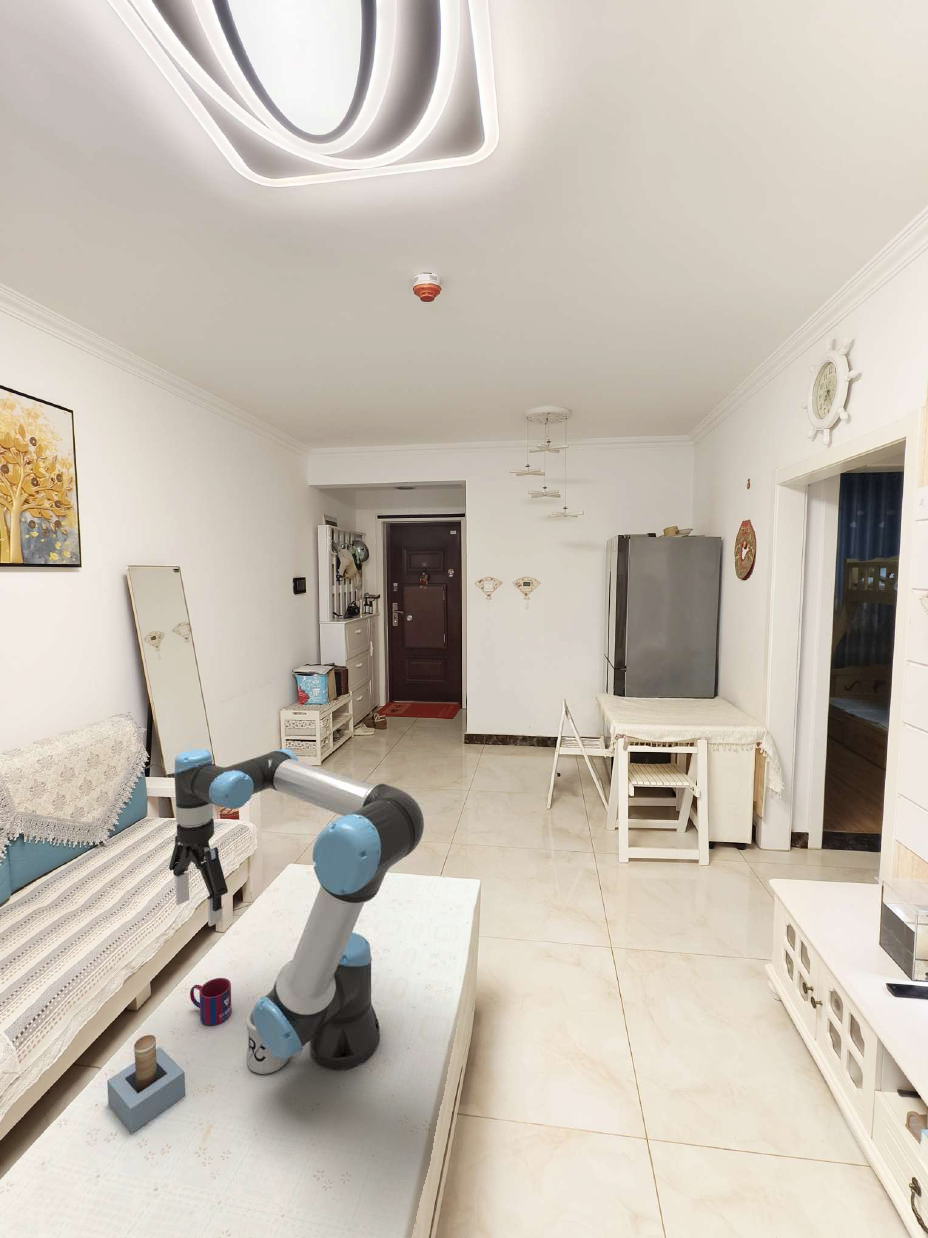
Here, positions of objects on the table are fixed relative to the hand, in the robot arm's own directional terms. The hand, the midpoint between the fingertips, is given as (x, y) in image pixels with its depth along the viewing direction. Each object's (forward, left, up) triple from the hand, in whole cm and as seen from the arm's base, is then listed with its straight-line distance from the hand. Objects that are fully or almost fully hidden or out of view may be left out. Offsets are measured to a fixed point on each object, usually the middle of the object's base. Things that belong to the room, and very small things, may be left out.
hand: (198, 912), depth 131 cm
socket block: (-10, +17, -27) cm, 33 cm away
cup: (+2, -3, -27) cm, 27 cm away
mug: (-22, -4, -27) cm, 35 cm away
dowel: (-10, +17, -27) cm, 33 cm away
